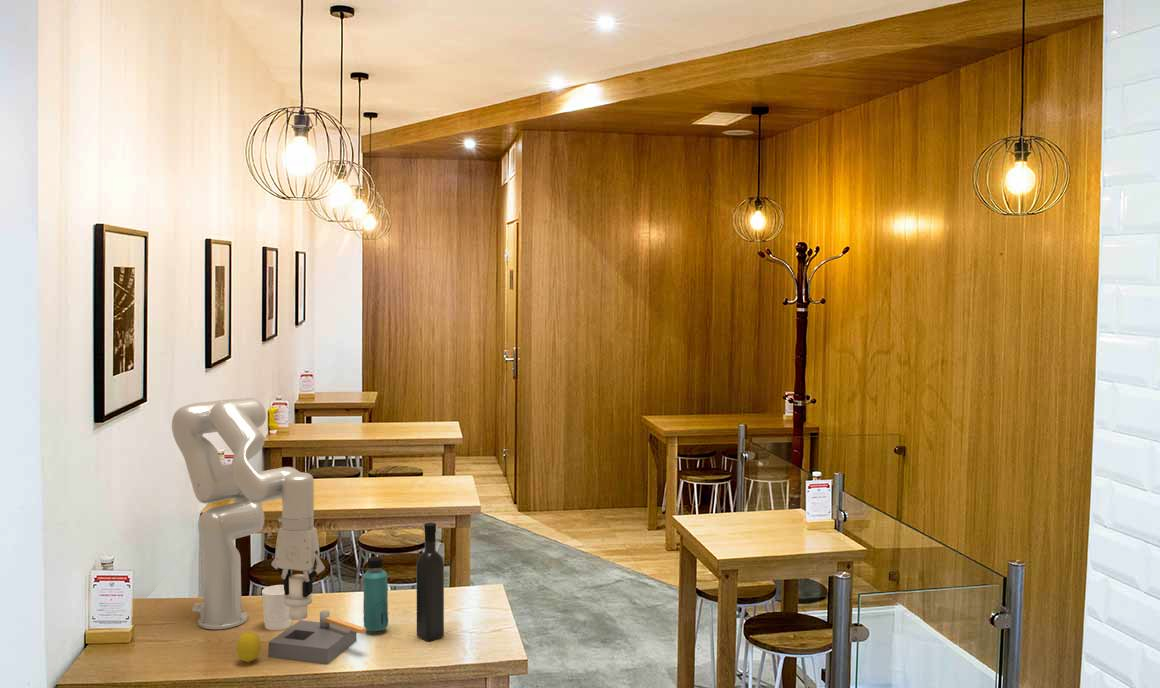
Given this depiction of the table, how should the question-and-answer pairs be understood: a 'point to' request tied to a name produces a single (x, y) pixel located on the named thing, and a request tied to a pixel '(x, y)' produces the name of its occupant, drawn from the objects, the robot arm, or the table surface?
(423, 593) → the wine bottle
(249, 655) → the lemon
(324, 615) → the hammer
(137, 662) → the table surface
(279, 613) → the white cup
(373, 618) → the beverage bottle
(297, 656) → the dock
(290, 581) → the plug
